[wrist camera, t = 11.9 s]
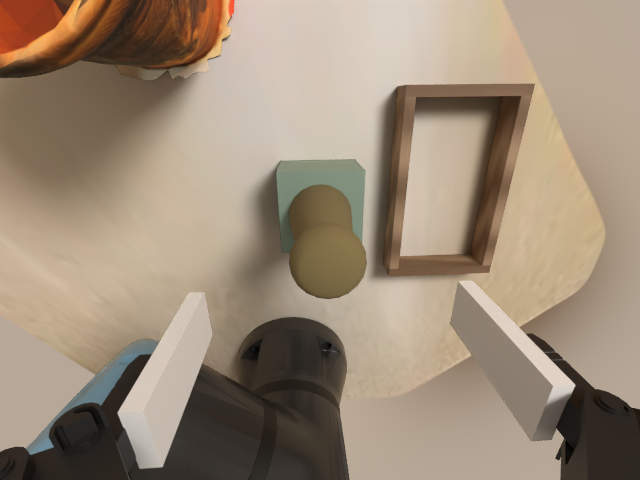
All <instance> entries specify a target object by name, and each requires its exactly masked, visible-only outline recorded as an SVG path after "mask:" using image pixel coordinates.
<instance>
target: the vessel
mask: <svg viewBox="0 0 640 480" xmlns="http://www.w3.org/2000/svg"><path fill="white" fill-rule="evenodd" d="M233 13H234V0H0V78H22V77H29V76H36V75H42V74H45V73H49V72H52V71H55V70H58V69H61V68H64V67H67V66H69V65H71V64H73V63H75V62H77V61H79V60H82V61H89V62H96V63H100V64H114V65H116V67H117V69H118V71H119V72H120V74H124V75H128V76H132V77H135V78H138V79H141V80H155V79H157V78H158V77H160V76H161V75H162V74H164V73H165V72H166V71H167V70H168V72H169V74H170V76H171V78H172V79H173V78H175V77H177V76H181V77H183V78H185V79H186V78H188V77H190V75H191V74H193V73H197V72H208V61H207V59H209V58H213V57H216V56H218V55H220V53H221V48H222V39H223V38H226V37H228V36H229V34H230V32H231V30H232V29H230V28H229V27H228V26H226V25H227V23H228V21H229V19H230V17H231V16H232V14H233Z"/></svg>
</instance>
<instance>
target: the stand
mask: <svg viewBox="0 0 640 480" xmlns="http://www.w3.org/2000/svg"><path fill="white" fill-rule="evenodd" d="M276 178H277V192H278V207H279V221H280V236H281V250H282V253H291V248H292V246H293V244H294V242H295V241H294V237H293V233H292V230H291V226H290V221H289V216H288V215H289V208H290V205H291V203H292V201H293V199H294V197H295V196H296V195H297V194H298V193H299V192H300V191H301V190H303V189H305V188H307V187H309V186H312V185H319V184H323V185H329V186H332V187H334V188H336V189H338V190H340V191H341V192H342V193H343V194H344V195H345V196H346V197H347V199H348V201H349V203H350V205H351V212H352V226H353V232H354V233H355V234H356V235H357V236H358V237H359V239H360V241H361V243H362V228H363V207H364V186H365V170H364V169H363V168H362V166H361V165H360V164H359V163H358V162H357V161H356V160H355V159H348V160H301V161H280V163H279V166H278V169H277V171H276Z"/></svg>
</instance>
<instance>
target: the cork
mask: <svg viewBox="0 0 640 480" xmlns="http://www.w3.org/2000/svg"><path fill="white" fill-rule="evenodd" d="M288 216H289V221H290V226H291V230H292V233H293V237H294V241H295V242H294V244H293V246H292V248H291V253H290V259H289V265H290V270H291V274H292V276H293V278H294V280H295V282H296V283H297V285H298V286H299V287H300V288H301V289H302V290H304V291H305V292H306V293H308V294H310V295H313V296H315V297H317V298H324V299H332V298H339V297H341V296H343V295H346V294H348V293H349V292H350V291H351V290H353V289H354V288H355V287H356V286H358V284H359V283H360V281H361V280H362V278H363V277H364V273H365V269H366V264H367V261H366V251H365V249H364V247H363V245H362V243H361V241H360V239H359V237H358V236H357V235H356V234H355V233H354V232H353V226H352V212H351V205H350V203H349V201H348V199H347V197H346V196H345V195H344V194H343V193H342V192H341V191H340V190H338V189H336V188H334V187H332V186H329V185H323V184H319V185H312V186H309V187H307V188H305V189H303V190H301V191H300V192H299V193H298V194H297V195H296V196H295V197H294V199H293V201H292V203H291V205H290V208H289V215H288Z"/></svg>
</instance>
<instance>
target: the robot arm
mask: <svg viewBox="0 0 640 480" xmlns="http://www.w3.org/2000/svg"><path fill="white" fill-rule="evenodd" d="M450 324H451V326H452V327H453V329H454V330H455V331H456V333H457V334H458V336H459V337H460V339H461V340H462V342H463V343H464V344H465V346H466V347H467V349H468V350H469V352H470V353H471V355H472V356H473V358H474V359H475V360H476V362H477V363H478V365H479V366H480V368H481V369H482V371H483V372H484V373H485V375H486V376H487V378H488V379H489V381H490V382H491V384H492V385H493V386H494V388H495V389H496V391H497V392H498V394H499V395H500V397H501V398H502V400H503V401H504V402H505V404H506V405H507V407H508V408H509V410H510V411H511V412H512V414H513V415H514V417H515V418H516V420H517V421H518V423H519V424H520V426H521V427H522V428H523V430H524V431H525V433H526V434H527V436H528V437H529V439H530V440H531V441H542V440H551V439H552V437H553V435H554V433H555V430H556V428H557V429H558V431H559V432H560V433H561V434H562V436H563V437H564V440H563V442H562V444H561V447H560V449H559V451H558V453H557V455H556V459H557V460H560V457H561V480H640V409H635V408H631V407H630V406H629V405H628V404H627V403H626V402H624V401H623V400H621V399H620V398H619V397H617V396H615V395H613V394H611V393H609V392H606V391H602V390H599V389H594V388H593V387H592V386H591V385H590V384H589V383H588V382H587V381H586V380H585V379H584V378H583V377H582V376H581V375H580V374H579V373H577V371H575V370H574V369H573V368H572V367H571V366H570V365H569V364H568V363H567V362H566V361H564V360H563V358H562V357H561V356H560V355H559V354H558V353H555V351H554V349H553V348H552V347H550V346H549V345H548V344H547V343H546V342H545V341H544V340H542V339H540V338H539V337H537V336H535V335H534V334H525V333H524V332H523V331H522V330H521V329H520V328H519V327H518V326H517V325H516V324H515V323H514V322H513V321H512V320H511V319H510V318H509V317H508V316H507V315H506V314H505V313H504V312H503V311H502V310H501V309H500V308H499V307H498V306H497V305H496V304H495V303H494V302H493V301H492V300H491V299H490V298H489V297H488V296H487V295H486V294H485V293H484V292H483V291H482V290H481V289H480V288H479V287H478V286H477V285H476V284H475V283H474V282H473V281H458V285H457V290H456V295H455V300H454V305H453V311H452V316H451V321H450ZM212 336H213V334H212V329H211V324H210V319H209V314H208V308H207V303H206V298H205V293H204V292H192V293H188V295H187V297H186V298H185V300H184V302H183V303H182V305H181V307H180V308H179V310H178V312H177V313H176V315H175V317H174V319H173V320H172V322H171V324H170V325H169V327H168V329H167V330H166V332H165V334H164V335H163V337H162V339H161V340H160V342H158V341H156V340H152V339H143V340H139V341H136V342H133V343H131V344H130V345H128V346H127V347H125V348H124V349H123V350H122V351H121V352H120V353H118V354H117V355H116V356H115V357H114V358H113V359H112V360H111V361H110V362H109V363H108V364H107V365H106V366H105V367H104V368H103V369H102V370H101V371H100V372H99V373H98V374H97V375H96V376H95V377H94V378H93V379H92V380H91V381H90V382H89V383H88V384H87V385H86V386H85V387H84V388H83V389H82V390H81V391H80V392H79V393H78V394H77V395H76V396H75V397H74V398H73V399H72V400H71V401H70V402H69V403H68V405H67V406H65V408H64V409H63V410H62V411H61V412H60V413H59V414H58V415H57V416H56V417H55V418H54V419H53V420H52V421H51V423H49V425H48V426H47V427H46V428H45V429H44V430H43V431H42V432H41V433H40V434H39V436H38V437H37V438H36V439H35V440H34V441H33V442H32V443H31V444H30V445H29V446H28V447H27V448H26V449H25V448H24V447H13V448H9V449H5V450H3V451H1V452H0V480H349V473H348V466H347V459H346V453H345V445H344V438H343V431H342V423H341V418H340V408H339V404H340V400H341V396H342V391H343V387H344V383H345V378H346V373H347V362H346V356H345V350H344V347H343V344H342V342H341V340H340V339H339V337H338V336H337V335H336V334H335V333H334V332H333V331H332V330H331V329H329V328H328V327H326V326H325V325H323V324H321V323H319V322H316V321H313V320H310V319H305V318H295V317H291V318H281V319H276V320H273V321H270V322H267V323H265V324H263V325H261V326H259V327H258V328H256V329H255V330H254V331H252V332H251V333H250V334H249V335H248V337H247V338H246V339H245V341H244V342H243V344H242V346H241V349H240V353H239V357H238V361H237V378H238V383H237V382H235V381H233V380H231V379H229V378H228V377H226V376H224V375H222V374H220V373H219V372H217V371H215V370H213V369H211V368H210V367H208V366H206V365H204V364H202V362H203V359H204V357H205V354H206V351H207V349H208V346H209V344H210V341H211V338H212Z"/></svg>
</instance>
